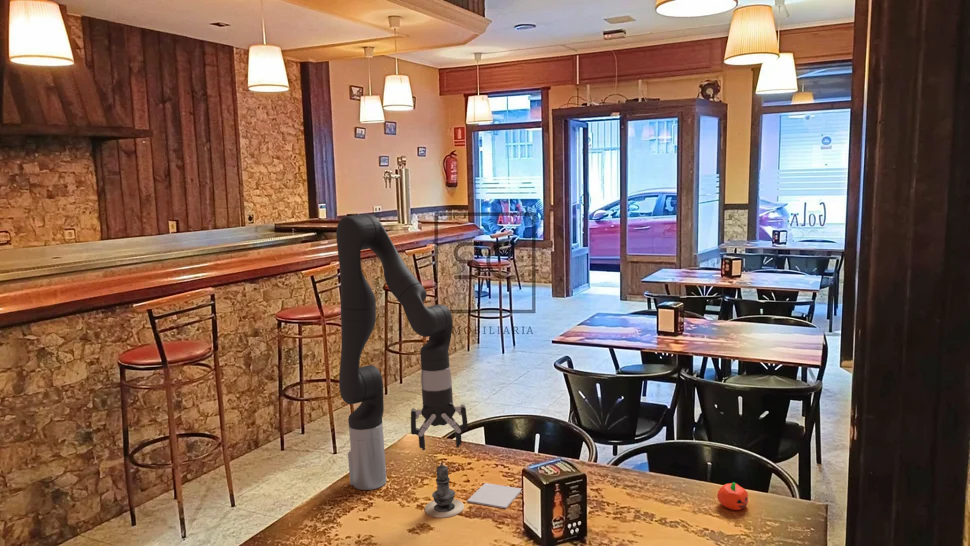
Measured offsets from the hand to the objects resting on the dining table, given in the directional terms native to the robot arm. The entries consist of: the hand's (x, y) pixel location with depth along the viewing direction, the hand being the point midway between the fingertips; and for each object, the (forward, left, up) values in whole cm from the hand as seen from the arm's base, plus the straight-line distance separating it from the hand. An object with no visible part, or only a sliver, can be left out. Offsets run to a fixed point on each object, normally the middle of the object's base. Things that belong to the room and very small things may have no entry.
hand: (440, 447), depth 170 cm
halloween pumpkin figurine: (+67, +25, -16) cm, 73 cm away
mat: (+9, +11, -16) cm, 21 cm away
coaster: (0, 0, -16) cm, 16 cm away
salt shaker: (0, 0, -16) cm, 16 cm away
